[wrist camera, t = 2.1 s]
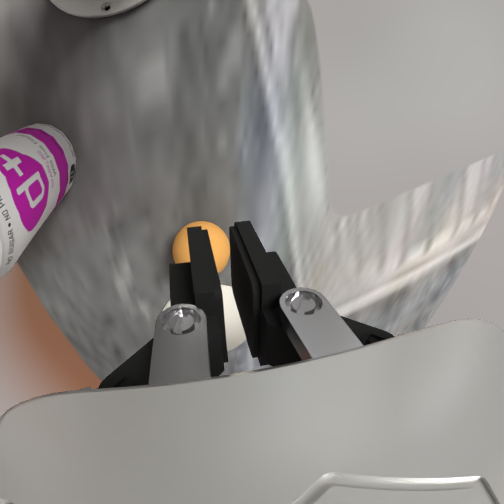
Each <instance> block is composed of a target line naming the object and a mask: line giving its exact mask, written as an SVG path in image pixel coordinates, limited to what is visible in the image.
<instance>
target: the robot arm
mask: <svg viewBox="0 0 504 504" xmlns="http://www.w3.org/2000/svg"><path fill="white" fill-rule="evenodd" d="M50 1H51V2H52V3H53V4H54V5H55V6H56V7H57V8H59V9H60V10H62V11H64V12H65V13H68V14H71V15H73V16H76V17H82V18H102V17H108V16H113V15H116V14H120V13H123V12H126V11H128V10H130V9H132V8H135V7H137V6H139V5H140V4H142V3H143V2H145V1H147V0H50ZM107 7H111V8H110V9H109V10H108V11H106V8H107ZM229 234H230V257H231V278H232V291H233V295H234V299H235V302H236V306H237V309H238V312H239V316H240V319H241V322H242V326H243V329H244V332H245V336H246V339H247V342H248V346H249V349H250V352H251V355H252V357H253V358H255V357H258V360H259V363H260V366H263V365H268V364H269V365H271V366H273V367H269V368H264V369H259V370H253V371H248V372H242V373H236V374H229V375H223V376H219V375H220V374H221V373H222V372H223V371H224V362H228V355H227V343H226V331H225V319H224V306H223V295H222V289H221V284H220V280H219V276H218V272H217V268H216V263H215V259H214V255H213V251H212V247H211V242H210V238H209V234H208V230H207V229H204V230H202V228H201V226H196V227H188V228H187V236H188V245H189V254H190V262H184V263H176V264H170V304H171V307H168V308H166V309H165V310H164V311H162V312H161V313H160V314H159V316H158V317H157V320H156V325H155V332H154V338H153V339H152V340H150V341H149V342H148V343H147V344H146V345H144V346H143V347H142V348H141V349H140V350H138V351H137V352H136V353H135V354H134V355H132V356H131V357H130V358H129V359H128V360H126V361H125V362H124V363H123V364H122V365H120V366H119V367H118V368H117V369H116V370H114V371H113V372H112V373H111V374H110V375H108V376H107V377H106V378H105V379H104V380H103V381H102V382H101V384H100V386H99V388H97V389H91V387H87V388H83V389H80V390H75V391H66V392H58V393H51V394H47V395H43V396H38V397H35V398H32V399H30V400H26V401H24V402H21V403H19V404H17V405H15V406H13V407H12V408H10V409H9V410H7V411H6V412H5V413H4V414H3V415H2V416H1V418H0V504H504V330H503V329H502V328H501V327H500V326H498V325H497V324H495V323H493V322H490V321H486V320H480V319H462V320H454V321H449V322H445V323H440V324H437V325H433V326H430V327H427V328H423V329H420V330H416V331H413V332H410V333H406V334H398V335H397V336H396V337H394V336H393V335H392V334H390V333H388V332H386V331H384V330H381V329H378V328H375V327H372V326H369V325H366V324H363V323H360V322H357V321H354V320H351V319H348V318H345V317H342V316H340V315H339V314H338V313H337V311H336V310H335V309H334V308H333V306H332V305H331V304H330V303H329V301H328V300H327V299H326V298H325V297H324V296H323V295H322V294H321V293H320V292H318V291H316V290H313V289H310V288H302V287H300V288H296V286H295V284H294V282H293V281H292V279H291V277H290V275H289V274H288V272H287V270H286V268H285V266H284V265H283V263H282V261H281V259H280V258H279V256H278V254H277V253H276V252H267V253H266V251H265V249H264V247H263V245H262V243H261V241H260V239H259V238H258V236H257V234H256V232H255V230H254V228H253V226H252V224H251V222H250V221H243V222H235V224H234V226H232V227H230V228H229Z"/></svg>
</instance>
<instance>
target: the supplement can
mask: <svg viewBox="0 0 504 504" xmlns="http://www.w3.org/2000/svg"><path fill="white" fill-rule="evenodd" d="M75 174H76V157H75V154H74V151H73V148H72V144H71V143H70V141H69V140H68V139H67V137H66V136H65V135H64V133H63V132H61V131H60V130H58V129H56V128H55V127H53V126H52V125H47V124H40V123H37V124H33V125H30V126H26V127H24V128H21V129H19V130H16V131H14V132H12V133H9V134H7V135H5V136H3V137H0V278H1V277H3V276H4V275H5V274H7V273H8V272H10V271H11V269H12V268H13V266H14V265H15V263H16V261H17V260H18V258H19V257H20V255H21V254H22V252H23V251H24V250H25V248H26V247H27V245H28V244H29V242H30V241H31V239H32V238H33V237H34V235H35V234H36V232H37V231H38V230H39V228H40V227H41V226H42V224H43V223H44V222H45V220H46V219H47V218H48V216H49V215H50V214H51V212H52V211H53V210H54V209H55V207H56V206H57V205H58V204H59V202H60V201H61V200H62V199H63V197H64V196H65V195H66V193H67V192H68V191H69V189H70V188H71V187H72V183H73V180H74V177H75Z"/></svg>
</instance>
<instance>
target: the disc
mask: <svg viewBox="0 0 504 504" xmlns="http://www.w3.org/2000/svg"><path fill="white" fill-rule="evenodd" d="M221 289H222V295H223V306H224V319H225V331H226V343H227V351H230V350H232V349H234V348H236V347H237V346H239V345H240V344H241V343H243V342H244V341H245V340H246V336H245V332H244V329H243V326H242V322H241V319H240V316H239V312H238V309H237V306H236V302H235V299H234V295H233V291H232V287H231V286H227V285H222V284H221ZM168 307H171V304H170V300H169V301H168V303H167V304H166V305H165V307H164V308H163V310H162V311H164V310H165V309H166V308H168Z"/></svg>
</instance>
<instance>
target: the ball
mask: <svg viewBox="0 0 504 504" xmlns="http://www.w3.org/2000/svg"><path fill="white" fill-rule="evenodd" d="M196 226H201V228H202V230H204V229H207V230H208V234H209V238H210V242H211V247H212V251H213V255H214V259H215V263H216V268H217V272H218V273H220V272H221V271H222V270H223V269H224V267H225V266H226V264H227V262H228V260H229V256H230V244H229V240H228V238H227V236H226V234H225V233H224V232H223V231H222V229H221V228H219V227H218V226H217V225H215V224H213V223H210V222H206V221H197V222H193V223H190V224H188V225H186V226H185V227H183V228H182V229H181V230H180V231H179V232H178V234H177V235H176V237H175V240H174V242H173V249H172V252H173V258H174V261H175V263H184V262H190V254H189V245H188V236H187V228H188V227H196Z"/></svg>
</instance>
